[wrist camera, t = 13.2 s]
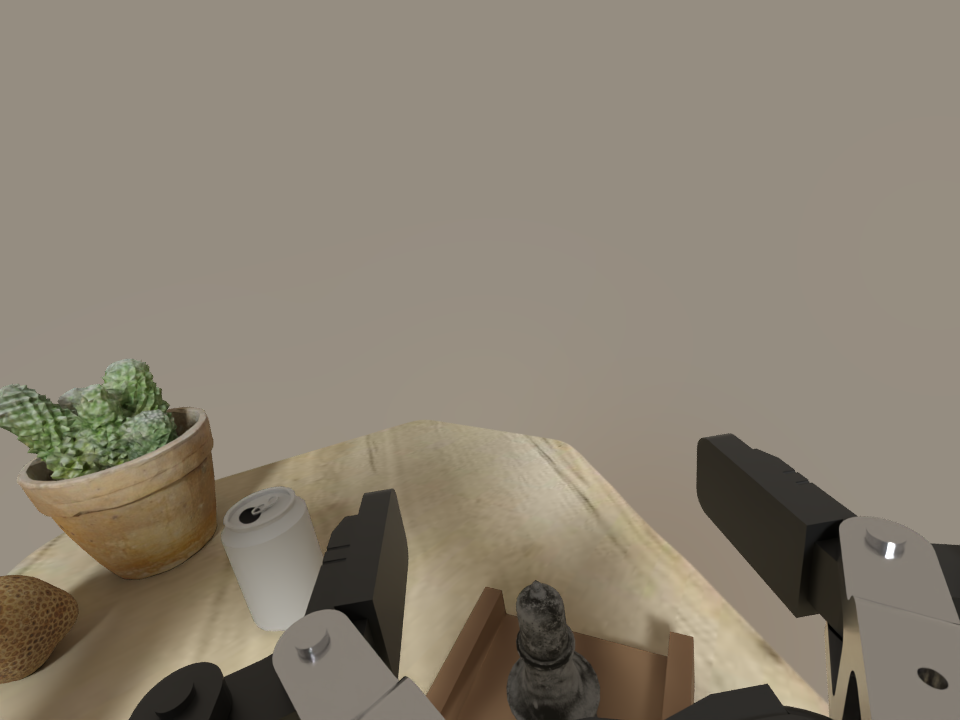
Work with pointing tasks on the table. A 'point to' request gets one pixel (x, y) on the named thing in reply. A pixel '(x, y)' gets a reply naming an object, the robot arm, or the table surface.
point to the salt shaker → (549, 663)
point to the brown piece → (620, 669)
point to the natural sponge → (31, 624)
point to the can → (273, 555)
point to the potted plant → (118, 469)
